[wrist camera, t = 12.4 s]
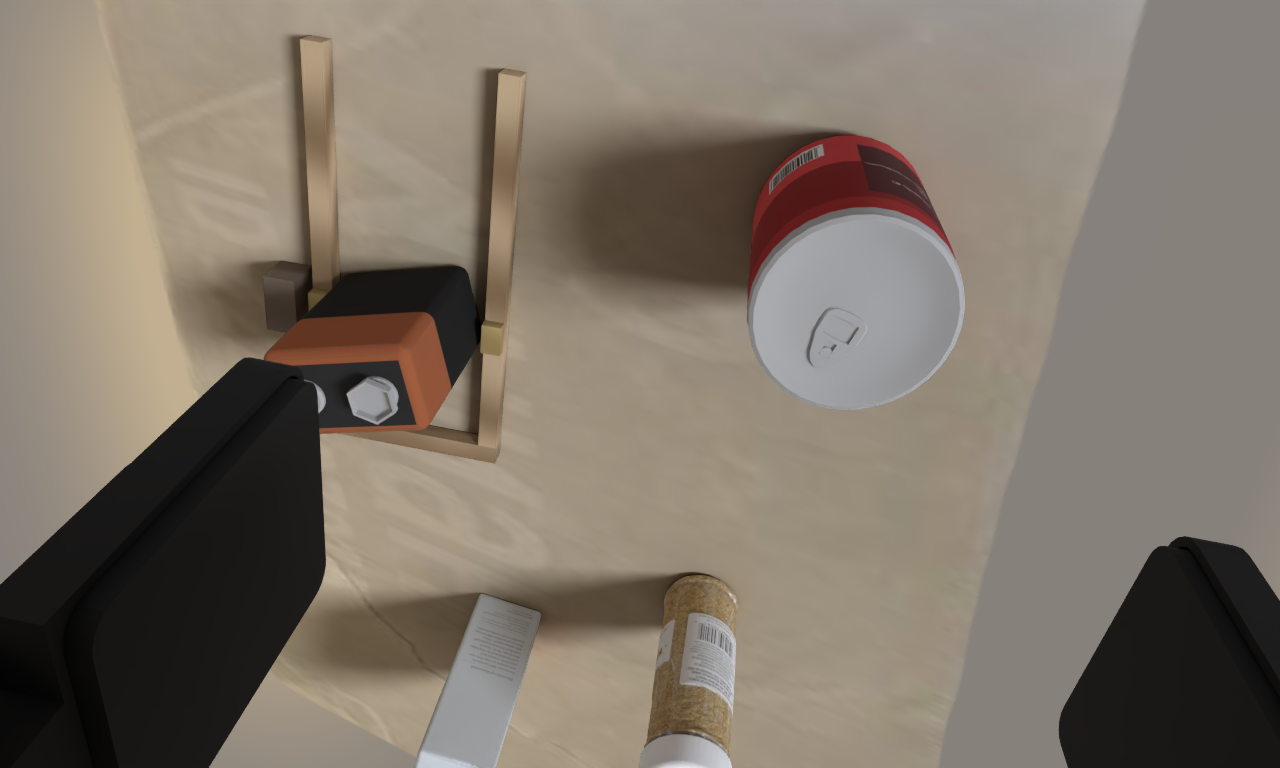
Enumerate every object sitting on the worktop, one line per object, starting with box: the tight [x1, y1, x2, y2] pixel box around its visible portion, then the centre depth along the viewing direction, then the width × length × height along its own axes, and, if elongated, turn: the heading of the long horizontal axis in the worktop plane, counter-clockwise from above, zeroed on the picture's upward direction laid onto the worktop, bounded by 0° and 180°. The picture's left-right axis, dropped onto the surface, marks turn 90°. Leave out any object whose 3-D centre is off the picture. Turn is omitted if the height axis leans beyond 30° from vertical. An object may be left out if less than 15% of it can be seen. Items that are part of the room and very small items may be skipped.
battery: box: [264, 267, 481, 434], centre depth 43 cm, size 4×7×10 cm, turn 97°
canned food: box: [747, 135, 965, 410], centre depth 38 cm, size 8×8×11 cm
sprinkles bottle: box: [639, 575, 739, 768], centre depth 49 cm, size 5×4×13 cm
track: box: [263, 35, 526, 463], centre depth 46 cm, size 21×12×2 cm, turn 172°
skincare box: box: [414, 594, 541, 768], centre depth 54 cm, size 6×4×12 cm
